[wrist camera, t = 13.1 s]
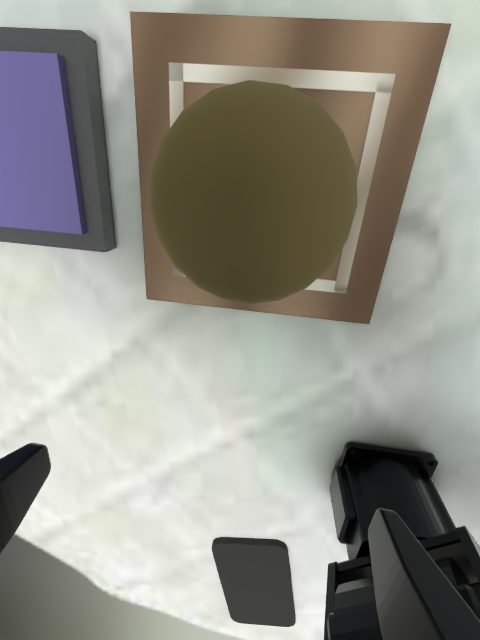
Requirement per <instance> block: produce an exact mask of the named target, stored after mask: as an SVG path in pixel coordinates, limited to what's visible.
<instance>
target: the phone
mask: <svg viewBox="0 0 480 640" xmlns="http://www.w3.org/2000/svg"><path fill="white" fill-rule="evenodd" d="M212 552H213V556H214V559H215V563H216V566H217V570H218V574H219V577H220V581H221V584H222V588H223V591H224V595H225V599H226V602H227V606H228V609H229V613H230V616H231V618H232V619H233V620H234V621H236V622H238V623H245V624H257V625H269V626H282V627H290V626H293V625H294V624H295V610H294V602H293V593H292V584H291V572H290V565H289V558H288V550H287V546H286V544H285V543H283V542H282V541H279V540H274V539H255V538H231V537H219V538H216V539H214V541H213V545H212Z"/></svg>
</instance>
